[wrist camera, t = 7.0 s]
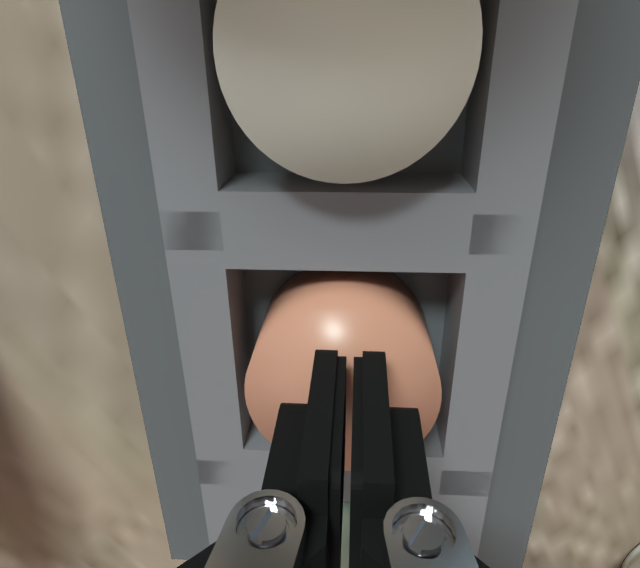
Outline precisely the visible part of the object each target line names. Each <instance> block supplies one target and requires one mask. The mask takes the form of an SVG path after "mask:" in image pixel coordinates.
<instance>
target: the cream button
mask: <svg viewBox="0 0 640 568" xmlns="http://www.w3.org/2000/svg"><path fill="white" fill-rule="evenodd" d="M482 34H483V28H482V13H481V6H480V1H479V0H217V4H216V9H215V14H214V25H213V54H214V60H215V67H216V73H217V76H218V80H219V84H220V87H221V91H222V93H223V96H224V98H225V100H226V103H227V105H228V107H229V109H230V111H231V113H232V115H233V117H234V118H235V120H236V122H237V123H238V125H239V126H240V128H241V129H242V130H243V132H244V133H245V135H246V136H247V137H248V138H249V139H250V140H251V141H252V142H253V143H254V145H255V146H256V147H257V148H258V149H259V150H261V151H262V152H263V153H264V154H265V155H266V156H268V157H269V158H270V159H271V160H273V161H274V162H276V163H277V164H279V165H281V166H282V167H284V168H286V169H288V170H290V171H292V172H294V173H296V174H298V175H301V176H304V177H307V178H310V179H312V180H317V181H322V182H327V183H339V184H350V183H362V182H367V181H373V180H377V179H380V178H383V177H386V176H389V175H392V174H394V173H396V172H398V171H400V170H402V169H405V168H406V167H408V166H410V165H411V164H413V163H414V162H416V161H417V160H419V159H420V158H422V157H423V156H424V155H425V154H427V153H428V152H429V151H430V150H431V149H433V148H434V147H435V146H436V145H437V143H438V142H439V141H440V140H441V139H442V138H443V137H444V136H445V135H446V134H447V132H448V131H449V130H450V128H451V127H452V126H453V124H454V123H455V122H456V120H457V118H458V117H459V115H460V113H461V112H462V110H463V108H464V106H465V105H466V102H467V100H468V98H469V95H470V93H471V91H472V88H473V85H474V82H475V79H476V75H477V72H478V68H479V62H480V57H481V51H482Z"/></svg>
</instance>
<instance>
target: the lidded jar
mask: <svg viewBox="0 0 640 568" xmlns="http://www.w3.org/2000/svg"><path fill="white" fill-rule="evenodd" d="M621 568H640V544H639V545H637V546H636V547H635V548H634V549H633V550H632V551H631V552H630V553H629V554H628V555H627V557H626V558H625V560H624V562H623V563H622V566H621Z"/></svg>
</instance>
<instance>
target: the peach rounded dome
mask: <svg viewBox="0 0 640 568" xmlns="http://www.w3.org/2000/svg"><path fill="white" fill-rule="evenodd" d="M316 349H318V350H338V356H346V357H347V362H346V433H345V468H344V471H351V447H352V407H353V367H354V357H362V355H363V351H381V352H385V354H386V367H387V380H388V394H389V407H404V408H418V410H419V414H420V421H421V428H422V434H423V439H424V438H425V437H426V436H427V434H428V433H429V432H430V430H431V429H432V427H433V425H434V423H435V422H436V419H437V416H438V414H439V411H440V406H441V399H442V388H441V381H440V376H439V372H438V368H437V364H436V360H435V356H434V352H433V348H432V343H431V339H430V335H429V331H428V327H427V323H426V319H425V316H424V312H423V310H422V307H421V305H420V303H419V301H418V300H417V298H416V297H415V295H414V294H413V292H412V291H411V290H410V289H409V288H408V287H407V286H406V285H405V284H404V283H403V282H402V281H401V280H399V279H398V278H397V277H395V276H394V275H392V274H391V273H389V272H368V271H310V270H303V271H301V272H300V273H298V274H296V275H295V276H293V277H292V278H290V279H289V280H288V281H287V282H286V283H284V285H283V286H282V287H281V288H280V289H279V290H278V291H277V293H276V294H275V295H274V297H273V298H272V300H271V302H270V304H269V306H268V309H267V312H266V315H265V318H264V321H263V324H262V327H261V330H260V333H259V336H258V339H257V342H256V345H255V348H254V351H253V354H252V357H251V360H250V363H249V366H248V369H247V372H246V377H245V384H244V387H245V400H246V405H247V408H248V411H249V414H250V416H251V418H252V420H253V422H254V424H255V425H256V427H257V428H258V430H259V431H260V433H261V434H262V435H263V436H264V437H265V438H266V439H267V440H268V441H269V442H270V443H272V438H273V434H274V429H275V425H276V420H277V416H278V411H279V407H280V404H281V403H302V404H307V403H308V396H309V389H310V383H311V376H312V369H313V362H314V355H315V350H316Z"/></svg>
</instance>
